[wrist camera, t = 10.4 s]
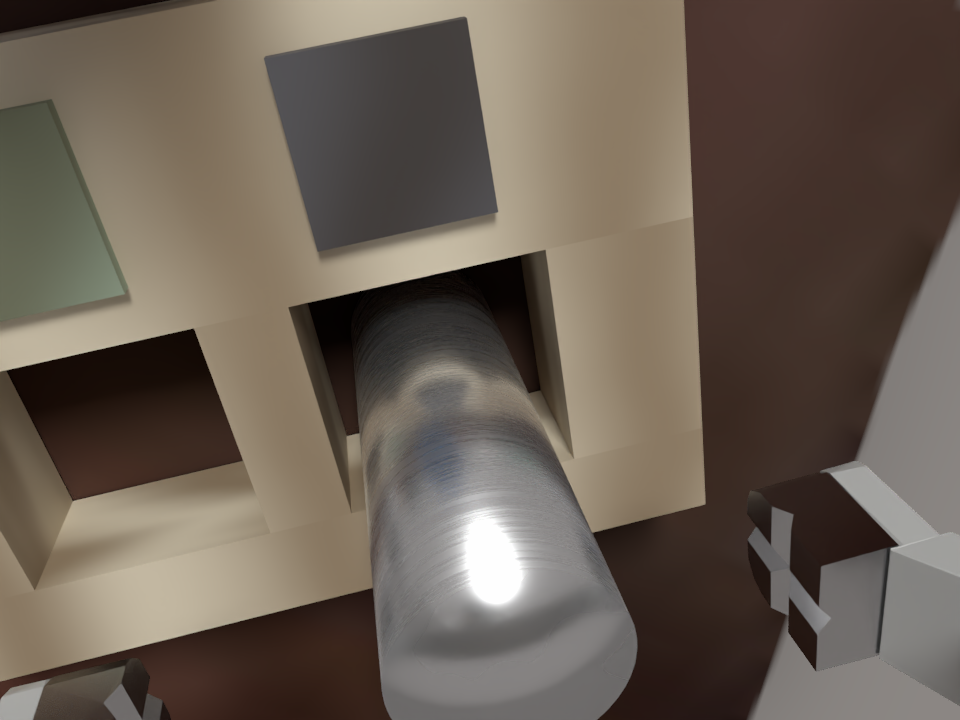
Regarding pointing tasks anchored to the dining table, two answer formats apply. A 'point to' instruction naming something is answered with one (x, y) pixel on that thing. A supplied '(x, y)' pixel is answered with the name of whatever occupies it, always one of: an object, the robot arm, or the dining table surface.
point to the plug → (474, 523)
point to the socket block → (327, 272)
